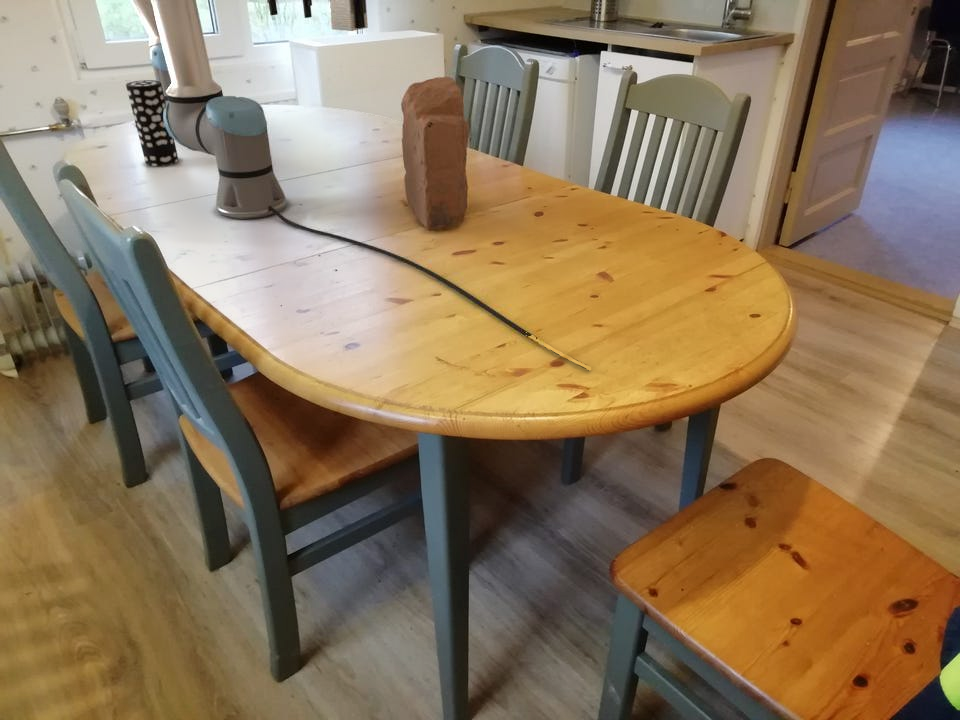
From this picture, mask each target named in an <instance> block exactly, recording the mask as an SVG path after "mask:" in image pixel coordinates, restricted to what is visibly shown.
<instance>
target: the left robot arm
mask: <svg viewBox="0 0 960 720" xmlns="http://www.w3.org/2000/svg"><path fill="white" fill-rule="evenodd" d="M130 1H131V3H132V5H133V7H134V9H135V11H136V13H137V14H138V16H139V18H140V20H141V22H142V24H143V26H144V28H145V30H146V31H147V34H148V35H149V39H150V40H149V43H148V46H149V48H150V50H149V55H150V59H149V60H150V62H151V65H152V68H153V73H154V79H155V81H160V82H161V84H162V89H163V93H164V98H165V102H166V103H167V102H168V98H167V94H166V91H167V90H168V88H169V87H170V85H171V79H170V75H169V71H168V66H167V62H166V58H165V54H164V50H163V46H162V42H161V37H160V33H159V29H158V25H157V21H156V17H155V13H154V8H153V4H152V0H130ZM312 1H313V0H302V6H303V16H304V18H305V19H309V18H313V16H312V6H313V2H312ZM266 3H267V4H268V7H269V14H270V15H269V16H277V15H279V14H278V6H277V0H266Z"/></svg>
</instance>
